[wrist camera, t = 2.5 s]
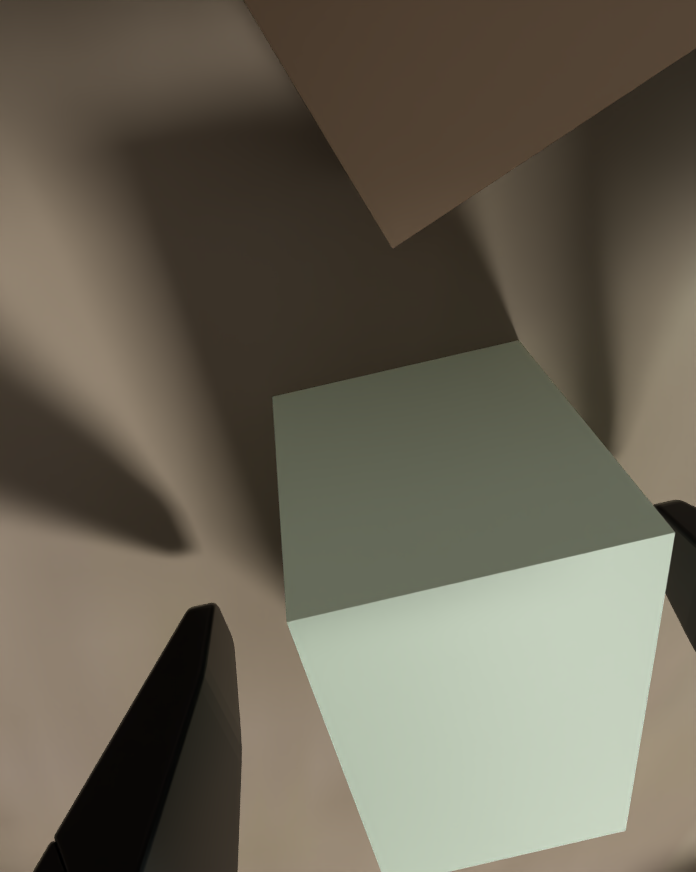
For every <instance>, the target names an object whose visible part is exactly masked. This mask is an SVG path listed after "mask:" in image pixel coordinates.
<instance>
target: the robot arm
mask: <svg viewBox="0 0 696 872" xmlns="http://www.w3.org/2000/svg"><path fill="white" fill-rule="evenodd" d="M653 506H654V507H655V508H656V510H657V511H658V512H659V513H660V514H661V516H662V517H663V518H664V519H665V521H666V522H667V523H668V524H669V525H670V527H671V528H672V529H673V530H674V532H675V537H674V543H673V549H672V555H671V561H670V567H669V573H668V579H667V585H666V591H665V594H666V596H667V598H668V600H669V602H670V604H671V605H672V607H673V609H674V611H675V613H676V615H677V617H678V619H679V621H680V623H681V625H682V627H683V629H684V631H685V633H686V635H687V637H688V639H689V641H690V643H691V645H692V646H693V648H694V650H695V651H696V507H694V506H692V505H690V504H688V503H686V502H684V501H681V500H672V501H667V502H663V503H658V504H654V505H653ZM241 766H242V744H241V727H240V714H239V701H238V687H237V674H236V661H235V649H234V643H233V639H232V636H231V633H230V631H229V629H228V626H227V624H226V622H225V620H224V617H223V615H222V613H221V611H220V609H219V607H218V606H217V605H216V604H215V603H208V604H203V605H199V606H194V607H191V608H190V609H188V610H187V612H186V613H185V615H184V616H183V618H182V620H181V621H180V623H179V625H178V627H177V628H176V630H175V632H174V633H173V635H172V637H171V638H170V640H169V642H168V644H167V645H166V647H165V649H164V650H163V652H162V654H161V655H160V657H159V659H158V661H157V662H156V664H155V666H154V667H153V669H152V671H151V672H150V674H149V676H148V678H147V679H146V681H145V683H144V684H143V686H142V688H141V689H140V691H139V693H138V695H137V696H136V698H135V700H134V701H133V703H132V705H131V706H130V708H129V710H128V712H127V713H126V715H125V717H124V718H123V720H122V722H121V723H120V725H119V727H118V729H117V730H116V732H115V734H114V735H113V737H112V739H111V740H110V742H109V744H108V746H107V747H106V749H105V751H104V752H103V754H102V756H101V757H100V759H99V761H98V763H97V764H96V766H95V768H94V769H93V771H92V773H91V774H90V776H89V778H88V780H87V781H86V783H85V785H84V786H83V788H82V790H81V791H80V793H79V795H78V796H77V798H76V800H75V802H74V803H73V805H72V807H71V808H70V810H69V812H68V813H67V815H66V817H65V819H64V820H63V822H62V824H61V825H60V827H59V829H58V830H57V832H56V834H55V836H54V839H55V841H53V842H51V843H50V844H49V845H48V847H47V849H46V850H45V852H44V854H43V856H42V857H41V859H40V861H39V862H38V864H37V866H36V867H35V869H34V871H33V872H237V871H238V844H239V818H240V792H241Z"/></svg>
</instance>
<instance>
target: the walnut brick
mask: <svg viewBox="0 0 696 872" xmlns="http://www.w3.org/2000/svg"><path fill="white" fill-rule="evenodd" d="M243 1H244V2H245V4H246V6H247V7H248V9H249V11H250V12H251V14H252V16H253V17H254V19H255V21H256V22H257V24H258V26H259V27H260V29H261V31H262V32H263V34H264V36H265V37H266V39H267V41H268V42H269V44H270V46H271V47H272V49H273V51H274V52H275V54H276V56H277V57H278V59H279V61H280V63H281V64H282V66H283V68H284V69H285V71H286V73H287V74H288V76H289V78H290V79H291V81H292V83H293V84H294V86H295V88H296V89H297V91H298V93H299V94H300V96H301V98H302V99H303V101H304V103H305V104H306V106H307V108H308V109H309V111H310V113H311V114H312V116H313V118H314V119H315V121H316V123H317V124H318V126H319V128H320V129H321V131H322V133H323V134H324V136H325V138H326V139H327V141H328V143H329V144H330V146H331V148H332V149H333V151H334V153H335V154H336V156H337V158H338V159H339V161H340V163H341V165H342V166H343V168H344V170H345V171H346V173H347V175H348V176H349V178H350V179H351V181H352V183H353V184H354V186H355V188H356V189H357V191H358V193H359V194H360V196H361V198H362V199H363V201H364V203H365V204H366V206H367V208H368V209H369V211H370V213H371V214H372V216H373V218H374V219H375V221H376V222H377V224H378V226H379V227H380V229H381V231H382V232H383V234H384V236H385V237H386V239H387V241H388V242H389V244H390V246H391V247H392V249H393V248H394V247H396V246H398V245H399V244H401V243H402V242H404V241H405V240H407V239H408V238H410V237H411V236H413V235H414V234H416V233H417V232H419V231H420V230H422V229H423V228H425V227H426V226H428V225H429V224H431V223H432V222H434V221H435V220H437V219H438V218H440V217H441V216H443V215H444V214H446V213H447V212H449V211H450V210H452V209H453V208H455V207H456V206H458V205H460V204H461V203H463V202H464V201H466V200H467V199H469V198H470V197H472V196H473V195H475V194H476V193H478V192H479V191H481V190H482V189H484V188H485V187H487V186H488V185H490V184H491V183H493V182H494V181H496V180H497V179H499V178H500V177H502V176H503V175H505V174H506V173H508V172H509V171H511V170H512V169H514V168H515V167H517V166H518V165H520V164H522V163H523V162H525V161H526V160H528V159H529V158H531V157H532V156H534V155H535V154H537V153H538V152H540V151H541V150H543V149H544V148H546V147H547V146H549V145H550V144H552V143H553V142H555V141H556V140H558V139H559V138H561V137H562V136H564V135H565V134H567V133H568V132H570V131H571V130H573V129H574V128H576V127H577V126H579V125H581V124H582V123H584V122H585V121H587V120H588V119H590V118H591V117H593V116H594V115H596V114H597V113H599V112H600V111H602V110H603V109H605V108H606V107H608V106H609V105H611V104H612V103H614V102H615V101H617V100H618V99H620V98H621V97H623V96H624V95H626V94H627V93H629V92H630V91H632V90H633V89H635V88H636V87H638V86H639V85H641V84H643V83H644V82H646V81H647V80H649V79H650V78H652V77H653V76H655V75H656V74H658V73H659V72H661V71H662V70H664V69H665V68H667V67H668V66H670V65H671V64H673V63H674V62H676V61H677V60H679V59H680V58H682V57H683V56H685V55H686V54H688V53H689V52H691V51H692V50H694V49H695V48H696V0H243Z"/></svg>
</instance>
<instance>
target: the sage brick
mask: <svg viewBox="0 0 696 872" xmlns="http://www.w3.org/2000/svg"><path fill="white" fill-rule="evenodd" d="M272 400H273V416H274V431H275V447H276V463H277V478H278V494H279V509H280V525H281V540H282V556H283V572H284V587H285V603H286V618H287V624H288V627H289V629H290V632H291V635H292V637H293V640H294V643H295V645H296V648H297V651H298V653H299V656H300V659H301V661H302V664H303V666H304V669H305V672H306V674H307V677H308V680H309V682H310V685H311V688H312V690H313V693H314V695H315V698H316V701H317V703H318V706H319V709H320V711H321V714H322V717H323V719H324V722H325V725H326V727H327V730H328V732H329V735H330V738H331V740H332V743H333V746H334V748H335V751H336V754H337V756H338V759H339V761H340V764H341V767H342V769H343V772H344V775H345V777H346V780H347V783H348V785H349V788H350V791H351V793H352V796H353V798H354V801H355V804H356V806H357V809H358V812H359V814H360V817H361V820H362V822H363V825H364V828H365V830H366V833H367V835H368V838H369V841H370V843H371V846H372V849H373V851H374V854H375V857H376V859H377V862H378V864H379V867H380V870H381V872H450V871H454V870H459V869H463V868H467V867H472V866H476V865H480V864H485V863H489V862H493V861H497V860H502V859H506V858H510V857H515V856H519V855H523V854H528V853H532V852H536V851H540V850H545V849H549V848H553V847H558V846H562V845H566V844H571V843H575V842H579V841H583V840H588V839H592V838H596V837H601V836H605V835H609V834H614V833H618V832H622V831H626V825H627V819H628V813H629V807H630V801H631V795H632V789H633V783H634V777H635V771H636V765H637V759H638V753H639V747H640V741H641V735H642V729H643V723H644V717H645V711H646V705H647V699H648V693H649V687H650V681H651V675H652V669H653V663H654V657H655V651H656V645H657V639H658V633H659V627H660V621H661V615H662V609H663V603H664V597H665V591H666V585H667V579H668V573H669V567H670V561H671V555H672V549H673V543H674V537H675V532H674V530H673V529H672V528H671V527H670V525H669V524H668V523H667V522H666V521H665V519H664V518H663V517H662V516H661V514H660V513H659V512H658V511H657V510H656V508H655V507H654V506H653V505H652V503H651V502H650V501H649V500H648V498H647V497H646V496H645V495H644V494H643V492H642V491H641V490H640V489H639V487H638V486H637V485H636V484H635V483H634V481H633V480H632V479H631V478H630V476H629V475H628V474H627V473H626V471H625V470H624V469H623V468H622V467H621V465H620V464H619V463H618V462H617V460H616V459H615V458H614V457H613V456H612V454H611V453H610V452H609V451H608V449H607V448H606V447H605V446H604V444H603V443H602V442H601V441H600V440H599V438H598V437H597V436H596V435H595V433H594V432H593V431H592V430H591V429H590V427H589V426H588V425H587V424H586V422H585V421H584V420H583V419H582V417H581V416H580V415H579V414H578V413H577V411H576V410H575V409H574V408H573V406H572V405H571V404H570V403H569V402H568V400H567V399H566V398H565V397H564V395H563V394H562V393H561V392H560V390H559V389H558V388H557V387H556V386H555V384H554V383H553V382H552V381H551V379H550V378H549V377H548V376H547V375H546V373H545V372H544V371H543V370H542V368H541V367H540V366H539V365H538V363H537V362H536V361H535V360H534V359H533V357H532V356H531V355H530V354H529V352H528V351H527V350H526V349H525V348H524V346H523V345H522V344H521V343H520V341H519V340H518V341H513V342H509V343H505V344H500V345H496V346H491V347H487V348H483V349H478V350H474V351H470V352H465V353H461V354H457V355H452V356H448V357H443V358H439V359H435V360H430V361H426V362H422V363H417V364H413V365H408V366H404V367H400V368H395V369H391V370H387V371H382V372H378V373H374V374H369V375H365V376H360V377H356V378H352V379H347V380H343V381H339V382H334V383H330V384H326V385H321V386H317V387H312V388H308V389H304V390H299V391H295V392H291V393H286V394H282V395H278V396H273V397H272Z"/></svg>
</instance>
